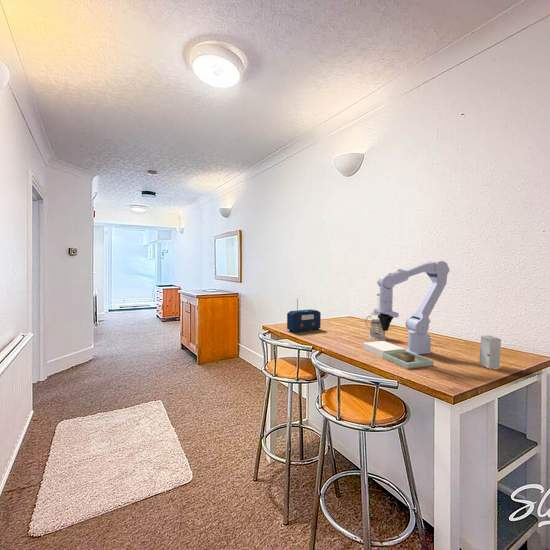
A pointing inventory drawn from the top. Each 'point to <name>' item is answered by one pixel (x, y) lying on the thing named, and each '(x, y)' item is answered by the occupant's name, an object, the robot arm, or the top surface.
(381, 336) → the french press
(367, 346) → the board
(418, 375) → the top surface
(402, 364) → the tray
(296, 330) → the radio
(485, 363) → the skincare box
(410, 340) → the robot arm
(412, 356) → the walnut tile
